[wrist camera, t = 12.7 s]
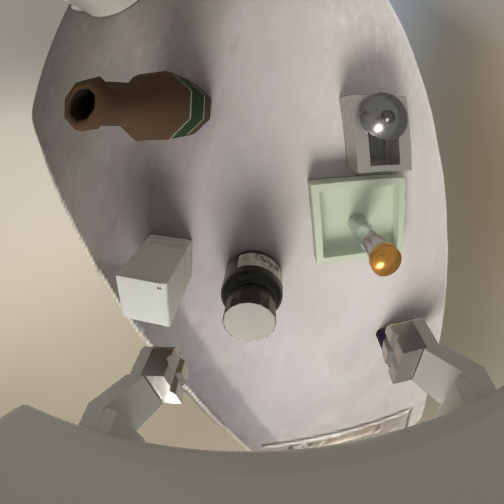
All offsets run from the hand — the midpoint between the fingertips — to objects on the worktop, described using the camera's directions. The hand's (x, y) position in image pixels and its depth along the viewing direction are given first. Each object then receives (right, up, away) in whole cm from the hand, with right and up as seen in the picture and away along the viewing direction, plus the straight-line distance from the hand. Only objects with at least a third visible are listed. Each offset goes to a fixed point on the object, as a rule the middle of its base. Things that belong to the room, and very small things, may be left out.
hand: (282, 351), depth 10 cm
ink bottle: (-1, 0, +35) cm, 35 cm away
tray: (+15, +9, +29) cm, 34 cm away
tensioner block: (+15, +21, +23) cm, 35 cm away
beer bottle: (-10, +23, +24) cm, 35 cm away
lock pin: (+15, +8, +29) cm, 34 cm away
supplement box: (-15, +3, +34) cm, 38 cm away
